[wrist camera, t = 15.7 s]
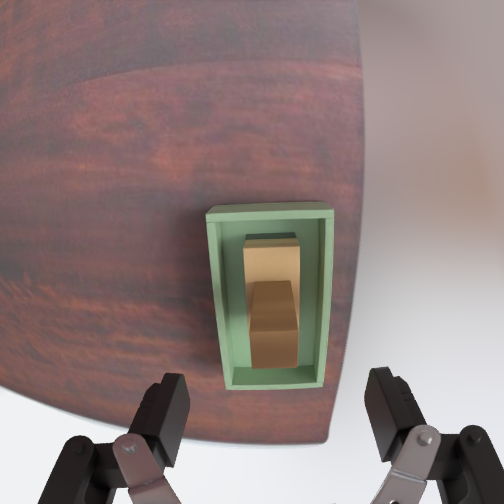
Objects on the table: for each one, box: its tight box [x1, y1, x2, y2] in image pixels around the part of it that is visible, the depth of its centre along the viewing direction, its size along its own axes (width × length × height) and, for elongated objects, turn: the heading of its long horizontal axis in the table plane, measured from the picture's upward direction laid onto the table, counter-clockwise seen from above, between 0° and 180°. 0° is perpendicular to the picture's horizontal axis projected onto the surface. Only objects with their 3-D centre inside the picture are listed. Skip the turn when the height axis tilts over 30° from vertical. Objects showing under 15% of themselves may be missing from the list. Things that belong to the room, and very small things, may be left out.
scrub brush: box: [243, 232, 300, 369], centre depth 19 cm, size 7×4×10 cm, turn 3°
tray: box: [206, 201, 334, 390], centre depth 24 cm, size 15×8×3 cm, turn 3°
